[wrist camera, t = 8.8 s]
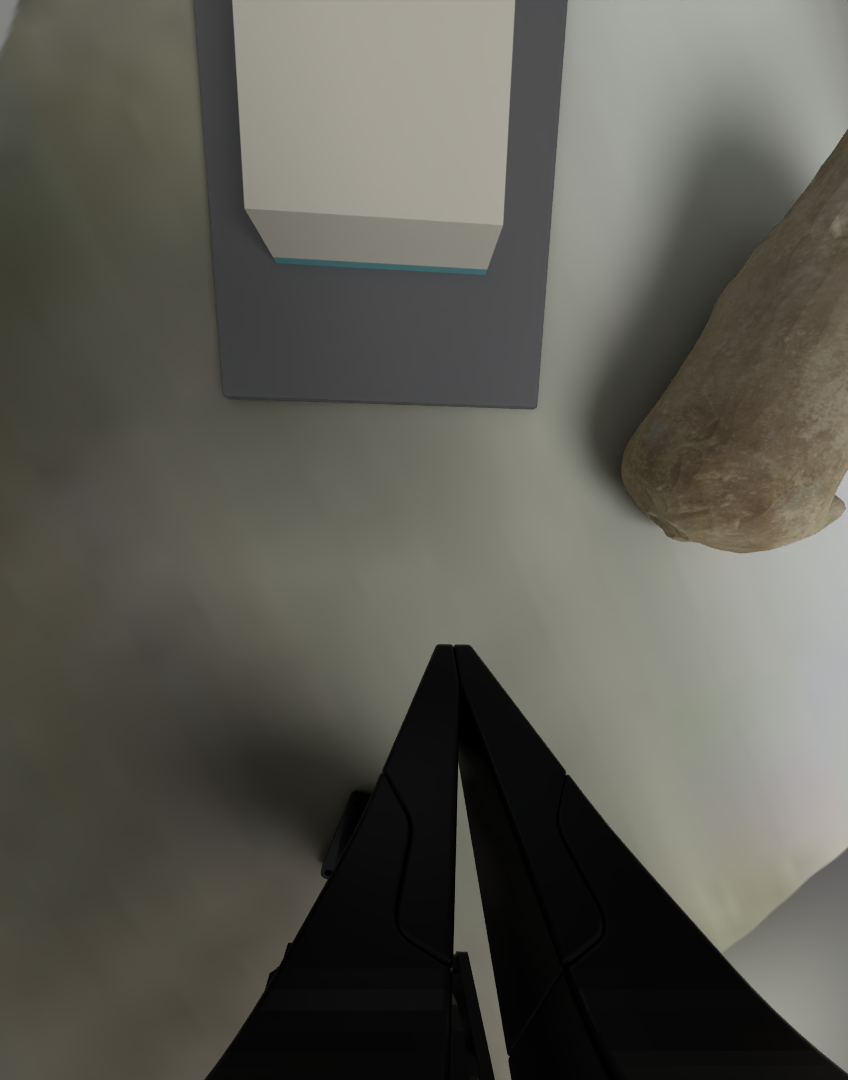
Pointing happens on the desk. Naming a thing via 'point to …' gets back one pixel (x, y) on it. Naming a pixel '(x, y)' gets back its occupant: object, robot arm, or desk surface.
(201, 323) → the desk surface
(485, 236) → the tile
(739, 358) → the sculpture
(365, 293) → the mat
